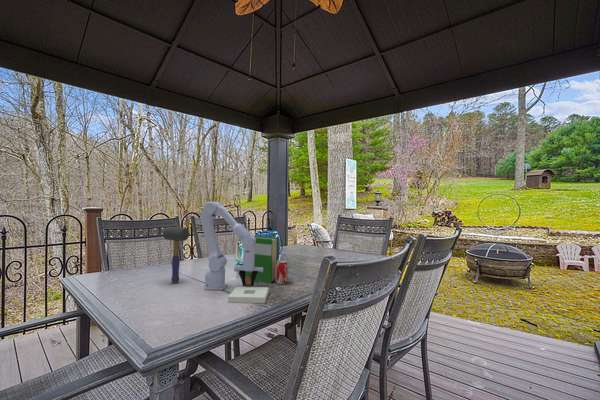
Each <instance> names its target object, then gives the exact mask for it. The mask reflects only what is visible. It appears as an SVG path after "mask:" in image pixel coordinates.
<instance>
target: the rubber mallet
mask: <svg viewBox="0 0 600 400" xmlns="http://www.w3.org/2000/svg"><path fill="white" fill-rule="evenodd" d="M162 232H163V233H162V236H163V238H164V240H168V241H173V248H172V249H173V250H172V259H171V269H172V272H171V282H172V283H173V284H177V283H179V281H180V272H179V271H180V255H179V242H183V241H184V242H185V241H187V240H188V239H189V236H190V231H189V229H188V228H187V227H183V226H182V227H181V226H167V227H165V228H164V230H163V231H162Z"/></svg>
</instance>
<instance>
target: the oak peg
mask: <svg viewBox="0 0 600 400" xmlns="http://www.w3.org/2000/svg"><path fill="white" fill-rule="evenodd" d="M244 287H253V286H252V275H251V274H246V275H245V286H244Z"/></svg>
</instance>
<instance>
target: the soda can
mask: <svg viewBox="0 0 600 400" xmlns="http://www.w3.org/2000/svg"><path fill="white" fill-rule="evenodd" d="M288 282H289V264H288V261H287V260H286V259H280V260H279V259H278V261H277V263H276V265H275V280H274V283H276V284H277V285H286V284H287V283H288Z"/></svg>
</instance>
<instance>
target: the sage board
mask: <svg viewBox="0 0 600 400" xmlns="http://www.w3.org/2000/svg"><path fill="white" fill-rule="evenodd" d="M269 290H270V288H269V287H265V286H264V287H262V286H261V287H260V286H259V287H257V286H251V287H245V286H235V288H234V289H233V290H232V292H231V293H230V294H229V295H228V300H227V302H228V303H229V304H230V303H232V304H233V303H234V304H235V303H237V304H241V303H243V304H265V303H266V301H267V297H268V295H269V293H270V291H269Z"/></svg>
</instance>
